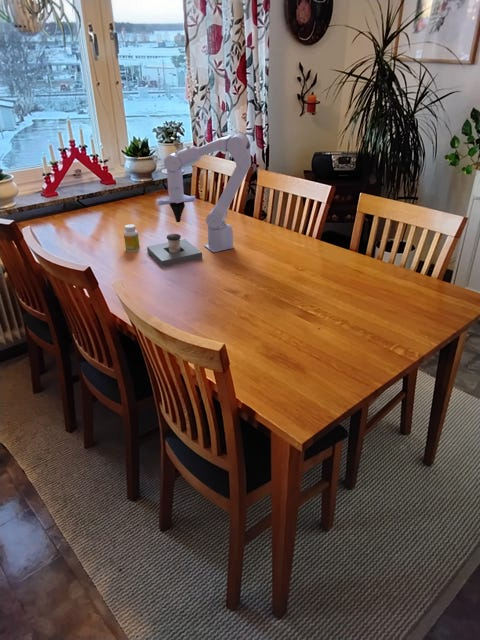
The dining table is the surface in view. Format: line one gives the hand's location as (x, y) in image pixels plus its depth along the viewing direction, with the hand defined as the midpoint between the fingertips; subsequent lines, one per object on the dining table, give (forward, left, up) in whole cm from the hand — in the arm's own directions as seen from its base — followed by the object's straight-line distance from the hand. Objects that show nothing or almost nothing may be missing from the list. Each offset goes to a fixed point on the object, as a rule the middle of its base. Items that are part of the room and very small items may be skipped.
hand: (178, 221), depth 188 cm
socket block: (+6, +9, -10) cm, 15 cm away
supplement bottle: (+18, -5, -10) cm, 21 cm away
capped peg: (+6, +10, -10) cm, 15 cm away
